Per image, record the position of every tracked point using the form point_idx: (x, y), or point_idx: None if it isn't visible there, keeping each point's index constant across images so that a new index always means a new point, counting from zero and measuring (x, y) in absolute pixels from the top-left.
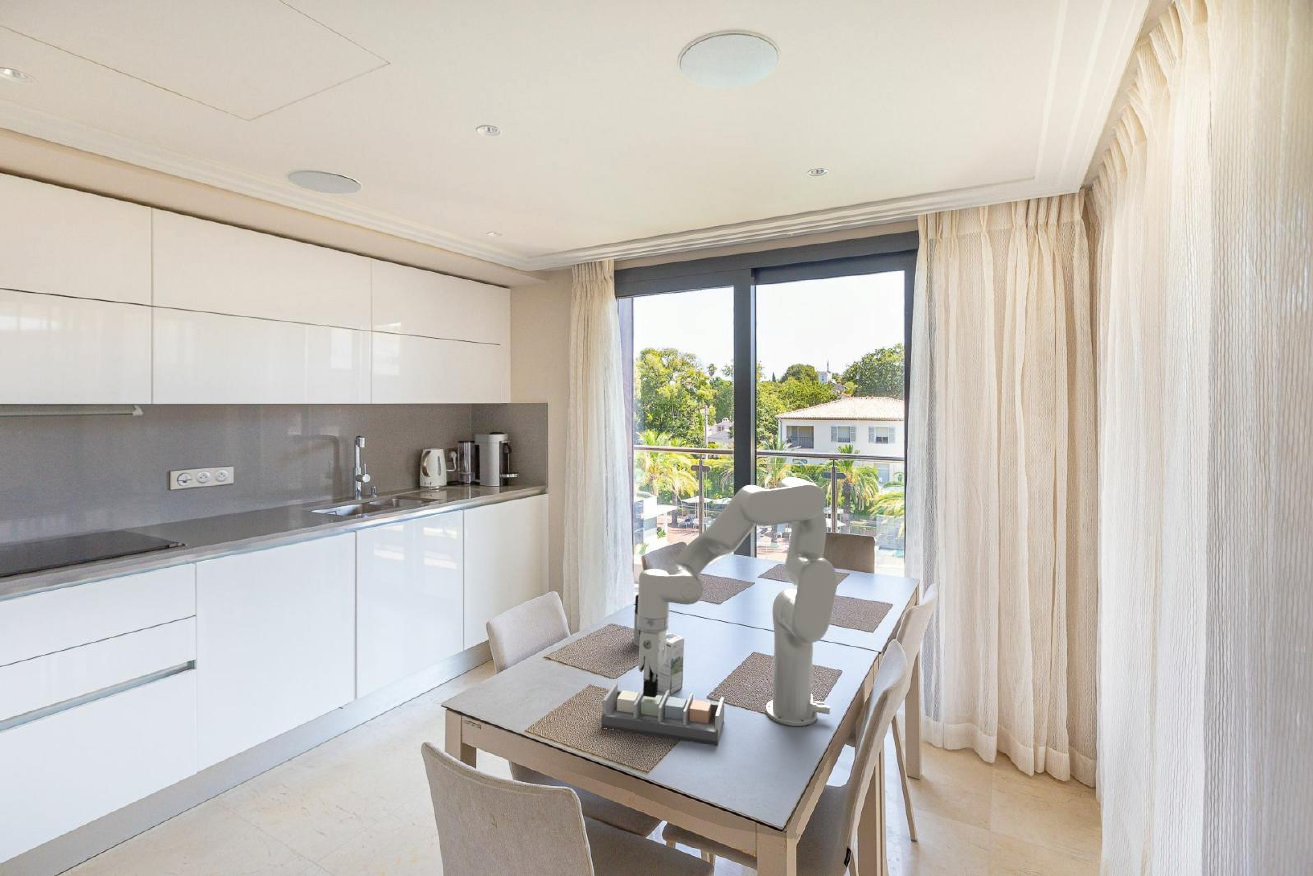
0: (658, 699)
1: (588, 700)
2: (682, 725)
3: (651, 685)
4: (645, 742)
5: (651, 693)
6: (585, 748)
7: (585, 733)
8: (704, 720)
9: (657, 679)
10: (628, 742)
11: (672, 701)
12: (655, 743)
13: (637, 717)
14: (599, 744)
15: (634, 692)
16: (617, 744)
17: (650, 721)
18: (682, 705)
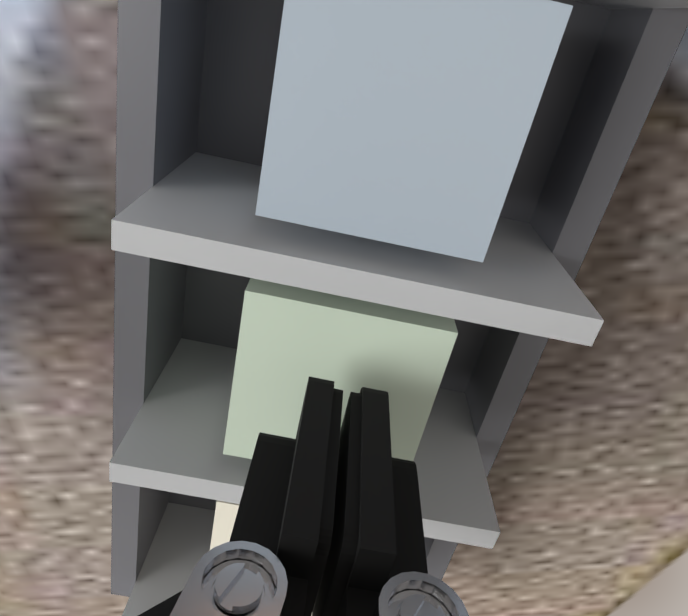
0: (345, 336)
1: (116, 605)
2: (653, 15)
3: (421, 566)
4: (604, 311)
5: (413, 472)
6: (616, 585)
7: (467, 594)
8: None
9: (304, 543)
10: (588, 408)
11: (384, 170)
12: (629, 244)
13: (428, 419)
14: (587, 537)
15: (221, 536)
16: (602, 461)
17: (532, 336)
18: (505, 18)
